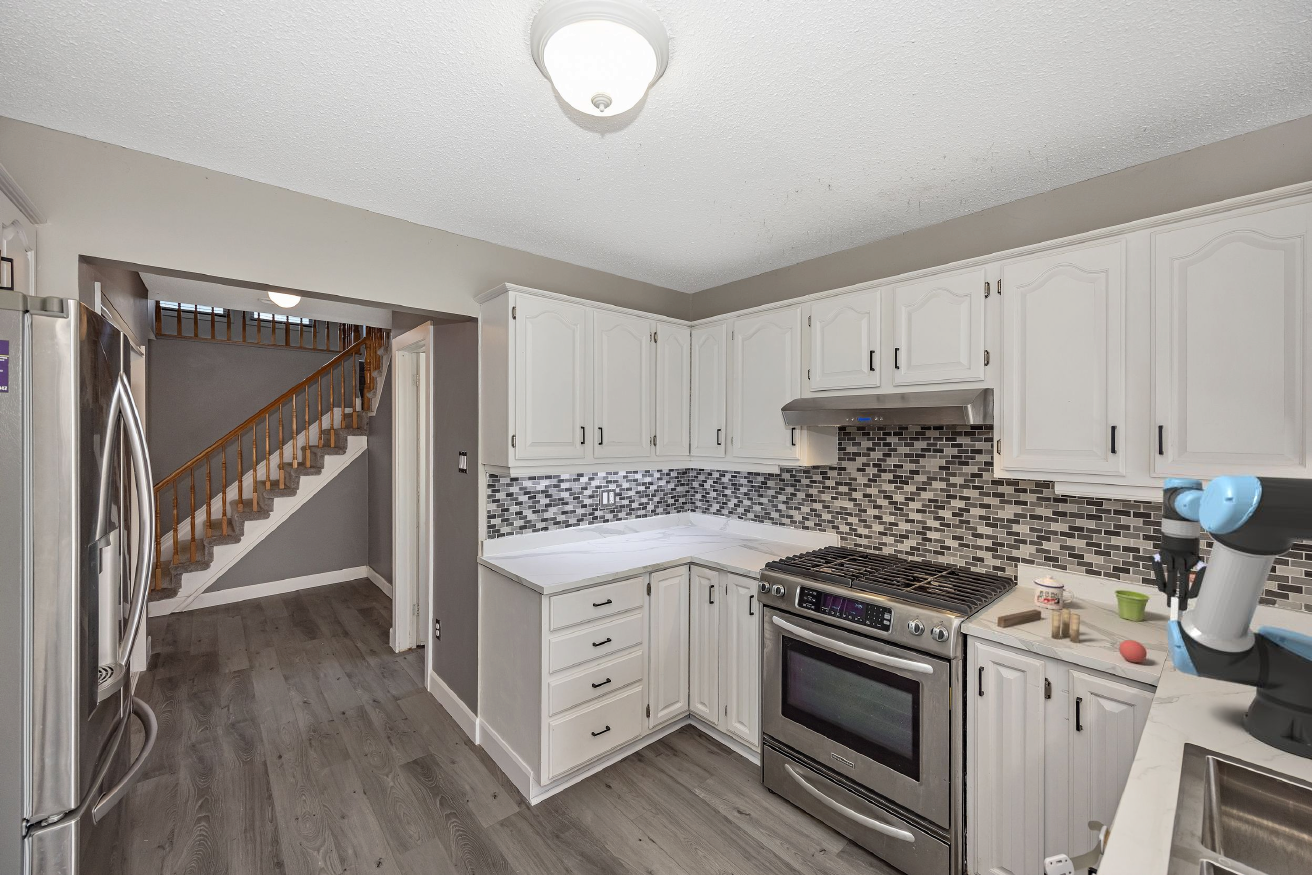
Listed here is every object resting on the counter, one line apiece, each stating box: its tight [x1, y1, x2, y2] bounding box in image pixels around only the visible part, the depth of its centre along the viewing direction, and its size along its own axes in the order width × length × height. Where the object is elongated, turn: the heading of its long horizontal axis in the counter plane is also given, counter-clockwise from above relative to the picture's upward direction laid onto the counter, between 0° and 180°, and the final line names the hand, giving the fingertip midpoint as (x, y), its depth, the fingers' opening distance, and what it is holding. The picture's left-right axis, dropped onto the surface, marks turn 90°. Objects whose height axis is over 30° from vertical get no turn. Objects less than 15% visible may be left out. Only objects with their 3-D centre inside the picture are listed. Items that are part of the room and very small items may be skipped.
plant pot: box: [1114, 589, 1151, 622], centre depth 190 cm, size 9×9×9 cm
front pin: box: [1069, 613, 1081, 644], centre depth 169 cm, size 2×2×8 cm
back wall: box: [996, 609, 1042, 629], centre depth 185 cm, size 2×20×3 cm, turn 114°
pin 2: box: [1060, 608, 1072, 638], centre depth 174 cm, size 2×2×8 cm
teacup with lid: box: [1033, 574, 1074, 611], centre depth 201 cm, size 12×9×12 cm
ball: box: [1118, 639, 1148, 663], centre depth 156 cm, size 6×6×6 cm
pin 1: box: [1051, 610, 1062, 640], centre depth 172 cm, size 2×2×8 cm
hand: (1176, 620), depth 147 cm, fingers closed
